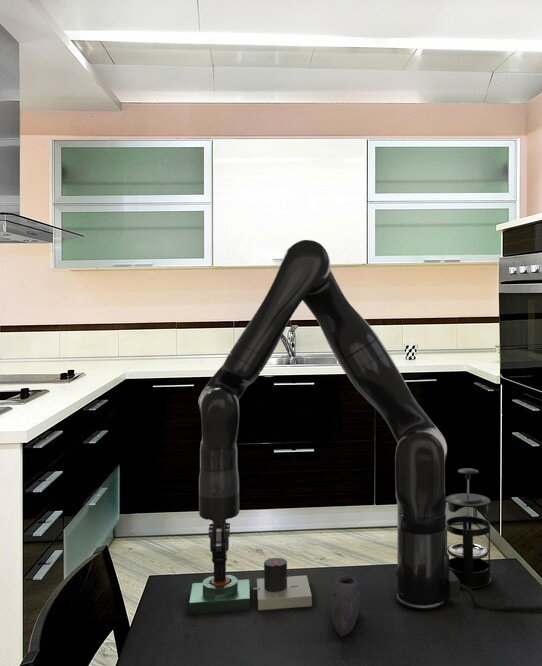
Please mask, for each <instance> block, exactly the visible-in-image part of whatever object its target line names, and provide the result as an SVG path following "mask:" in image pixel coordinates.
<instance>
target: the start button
mask: <svg viewBox="0 0 542 666" xmlns="http://www.w3.org/2000/svg"><path fill="white" fill-rule="evenodd" d="M229 583H230V579H229V578H227V577H226V580H225V581H223V582H215V581H214V579H212V580H211V585H214V586H223V585H227V584H229Z"/></svg>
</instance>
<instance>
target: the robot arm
mask: <svg viewBox="0 0 542 666" xmlns="http://www.w3.org/2000/svg"><path fill="white" fill-rule="evenodd" d="M302 302H303V303H304V304H305V306H306V307H307V309H309V311H310V312H311V314H312V315H313V317H314V318H315V320H316V321H317V323H318V325H319V327H320V329H321V331H322V333H323V336H324V339H325V340H326V342H327V344H328V345H329V348H330V349H331V352H332V353H333V355H334V357H335V359H336V361H337V362H338V364H339V366H340V367H341V369H342V370H343V372H344V374H345V375H346V377H347V378H348V380H349V381H350V383H351V384H352V385H353V387H354V388H355V389H356V391H358V392H359V393H360V395H361V396H362V397H363V398H364V399H365V400H366V401H367V402H368V403H369V404H370V405H372V406H373V407H374V409H375V410H376V411H377V412H378V413H379V414H380V415H381V417H382V418H383V420H384V421H385V422H386V424H387V426H388V428H389V429H390V431H391V433H392V435H393V437H394V439H395V442H396V443H397V445H396V447H395V454H394V483H395V487H394V488H395V489H394V490H395V499H396V506H397V508H396V509H397V510H396V511H397V554H396V555H397V558H396V559H397V561H396V562H397V563H396V564H397V569H396V571H395V577H396V578H397V580H396V581H397V582H396V584H397V585H396V586H397V587H396V592H397V593H396V600H397V602H398V603H399V604H400V605H401V606H403V607H405V608H408V609H412V610H419V611H431V610H435V609H439V608H441V607H443V606H446V605H447V606H448V605H450V599H451V598H452V599H454V598H461V590H464V591H466V592H467V593H469V595H470V597H471V601H472V603H473V604H474V605H475V606H477V607H478V608H481V609H485V610H493V611H542V605H500V606H497V605H496V606H493V605H492V606H491V605H486V604H483V603H482V602H480V601H478V599H477V598H476V594H475V592H474V590H471V589H470V588H468V587H467V586H465V585H463V584H460V581H459V579H458V578H457V577H456V576H455V574H454V573H453V572H452V571H451V570H449V559H450V554H449V553H448V551H447V552H446V520H447V501H446V487H445V486H446V481H445V480H446V474H445V472H446V465H445V464H446V458H447V455H448V445H447V442H446V441H447V440H446V438H445V437H444V435H443V434H442V432H441V431H440V429H438V427H437V426H436V425H435V423H434V422H433V421H432V420H431V418H430V417H429V416H428V415H427V413H426V412H425V411H424V409H423V408H422V407H421V406H420V405H419V403H418V402H417V400H416V399H415V397H414V396H413V394H412V393H411V390H410V389H409V387H408V385H407V383H406V381H405V378H404V376H403V375H402V373H401V372H400V369H398V367H397V365H396V363H395V361H394V360H393V358H392V356H391V354H390V353H389V351H388V350H387V348H386V347H385V344H384V343H383V342H382V340H381V338H380V337H379V336H378V334H377V332H375V330H374V329H373V327H372V326H371V325H370V324H369V323H368V322H367V321H366V319H365V318H364V317H363V316H362V315H361V314H360V313H359V312H358V311H357V310H356V309H355V307H353V306H352V304H351V303H350V302H349V300H348V299H347V298H346V296H345V295H344V293H343V291H342V289H341V287H340V285H339V283H338V282H337V279H336V278H335V276H334V273H333V271H332V269H331V260H330V255H329V253H328V252H327V250H326V248H325V246H323V244H321V243H319V242H318V241H316V240H313V239H300V240H298V241H296V242H294V243H292V244H291V245H290V246H289V247H288V248H287V249H286V250H285V253H284V255H283V259H282V261H281V263H280V265H279V268H278V270H277V272H276V275H275V277H274V279H273V281H272V283H271V285H270V287H269V290H268V292H267V293H266V295H265V296H264V299H263V300H262V302H261V304H260V305H259V307H258V309H257V310H256V312H255V313H254V315H253V316H252V318H251V319H250V321H249V322H248V324H247V325H246V327H245V328H244V329H243V331H242V332H241V334H240V336H239V337H238V339H237V340H236V342H235V343H234V345H233V347H232V348H231V350H230V351H229V353H228V354H227V356H226V358H225V359H224V362H223V363H222V365H221V366H220V368H219V369H218V370H217V371H216V372H215V373H214V374H213V376H212V377H211V378H210V380H209V381H208V382H207V384H206V385H205V387H204V388H203V390H202V391H201V393H200V395H199V397H198V408H199V411H200V419H201V441H200V446H199V476H198V514H199V517H200V518H202V519H203V520H208V521H209V520H210V521H211V523H209V524H208V538H209V551H210V552H211V562H212V564H213V576H214V581H215V582H223V581H225V580H226V575H227V561H228V554H227V552H228V551H229V548H230V535H231V521H229V522H227V520H229V519H230V520H231V519H233V518H235V517H237V516H238V515H239V514H240V474H239V466H238V465H239V463H238V462H239V460H238V458H239V456H238V455H239V454H238V451H239V450H238V434H239V425H240V424H239V423H240V402H239V400H240V399H241V397H242V396H243V394H244V393H245V391H246V390H247V388H248V387H249V386H250V385H251V384H253V383H254V382H255V381H256V380H257V379H258V377H259V376H260V374H261V373H262V371H263V370H264V368H265V367H266V365H267V363H268V362H269V360H270V359H271V357H272V355H273V354H274V352H275V350H276V349H277V346H278V345H279V342H280V340H281V339H282V336H283V334H284V332H285V330H286V328H287V326H288V324H289V322H290V320H291V318H292V317H293V315H294V313H295V312H296V310H297V309H298V307H299V306H300V304H301V303H302ZM460 588H462V589H460Z"/></svg>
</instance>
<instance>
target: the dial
mask: <svg viewBox="0 0 542 666" xmlns="http://www.w3.org/2000/svg"><path fill="white" fill-rule="evenodd" d="M287 577H288V561H287V560H286V559H285V558H282V557H272V558H268V559H266V560H264V562H263V578H264V589H265V590H267V591H270V592H279V591H283V590H285V589H286V588H287Z"/></svg>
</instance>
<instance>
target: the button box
mask: <svg viewBox="0 0 542 666" xmlns="http://www.w3.org/2000/svg"><path fill="white" fill-rule="evenodd" d="M226 577H227V578H229V579H230V583H229V584H227V585H223V586H214V585H211V580H212V579H214V575H212V576H208V577H207V578H204V580H202V582H192V584H191V590H190V595H189V601H188V609H189V610H188V612H189V613H188V614H189V615H199V614H212V613H224V612H225V613H226V612H237V611H250V610H251V591H250V589H251V588H250V579H248V578H247V579H238V577H236V576H234V575H231V574H226Z"/></svg>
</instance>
